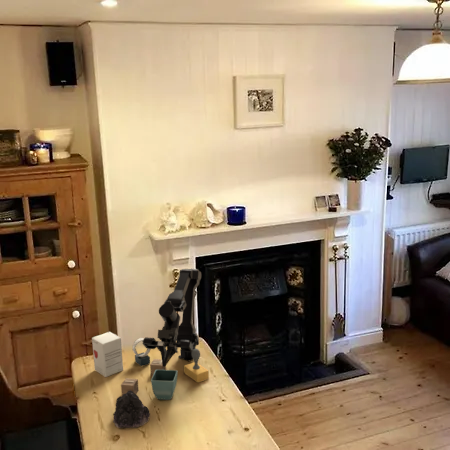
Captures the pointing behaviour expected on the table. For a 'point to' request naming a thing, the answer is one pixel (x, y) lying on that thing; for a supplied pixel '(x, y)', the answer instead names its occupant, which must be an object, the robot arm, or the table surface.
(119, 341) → the supplement box
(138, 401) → the crystal cluster
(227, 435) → the table surface
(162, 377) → the flower pot
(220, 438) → the table surface
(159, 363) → the numbered block seven
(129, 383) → the numbered block one
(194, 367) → the rubber stamp
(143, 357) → the watch
